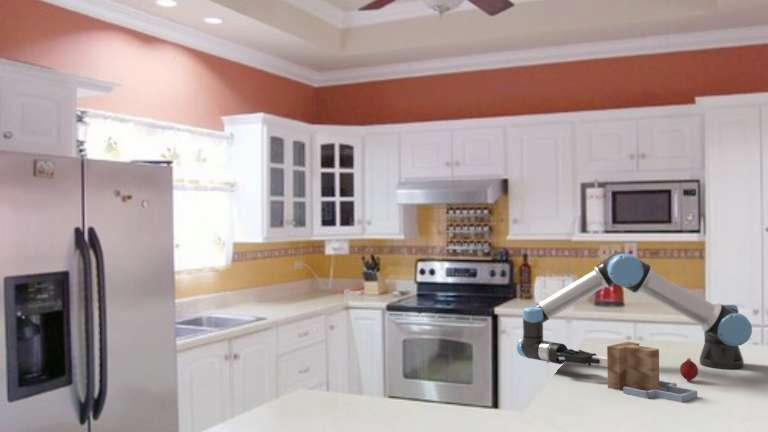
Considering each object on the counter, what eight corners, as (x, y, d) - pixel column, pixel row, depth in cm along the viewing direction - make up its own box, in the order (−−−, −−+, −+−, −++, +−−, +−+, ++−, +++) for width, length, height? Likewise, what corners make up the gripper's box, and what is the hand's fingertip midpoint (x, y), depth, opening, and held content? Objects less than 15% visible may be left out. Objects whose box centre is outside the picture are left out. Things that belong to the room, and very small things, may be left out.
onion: (699, 383, 242) (699, 360, 242) (682, 382, 243) (681, 359, 243) (696, 379, 248) (695, 356, 248) (678, 378, 249) (678, 356, 249)
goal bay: (703, 394, 228) (703, 388, 228) (675, 404, 217) (675, 398, 217) (651, 384, 242) (651, 378, 242) (623, 393, 231) (623, 387, 231)
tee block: (665, 389, 235) (665, 347, 235) (645, 395, 228) (645, 352, 227) (627, 381, 246) (627, 341, 246) (607, 387, 238) (607, 346, 238)
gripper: (564, 360, 267) (620, 370, 249) (542, 365, 259) (598, 376, 241) (564, 340, 267) (619, 349, 249) (542, 344, 259) (597, 354, 241)
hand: (609, 362), depth 245 cm, fingers closed
